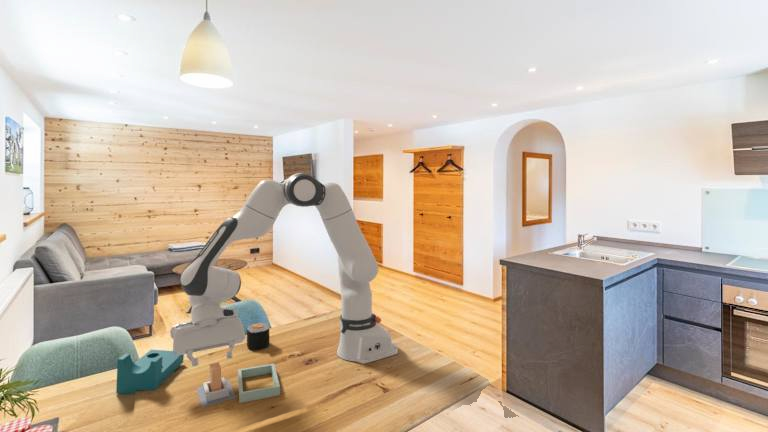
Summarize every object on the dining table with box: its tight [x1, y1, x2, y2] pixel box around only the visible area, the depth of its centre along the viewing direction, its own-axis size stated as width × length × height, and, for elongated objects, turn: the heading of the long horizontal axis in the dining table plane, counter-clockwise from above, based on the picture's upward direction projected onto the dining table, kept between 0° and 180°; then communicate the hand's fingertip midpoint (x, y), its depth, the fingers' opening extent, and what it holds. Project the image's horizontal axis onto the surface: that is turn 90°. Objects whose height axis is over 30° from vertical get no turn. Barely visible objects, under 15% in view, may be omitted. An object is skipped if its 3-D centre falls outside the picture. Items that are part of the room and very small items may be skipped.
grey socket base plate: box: [196, 377, 237, 409], centre depth 111 cm, size 9×12×3 cm
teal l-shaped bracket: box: [115, 349, 185, 395], centre depth 120 cm, size 18×11×10 cm, turn 3°
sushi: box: [246, 322, 270, 351], centre depth 144 cm, size 8×8×8 cm
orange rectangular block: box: [209, 362, 222, 392], centre depth 111 cm, size 2×4×8 cm, turn 32°
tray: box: [237, 363, 281, 404], centre depth 115 cm, size 11×15×4 cm
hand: (212, 361), depth 113 cm, fingers open, 8 cm apart
